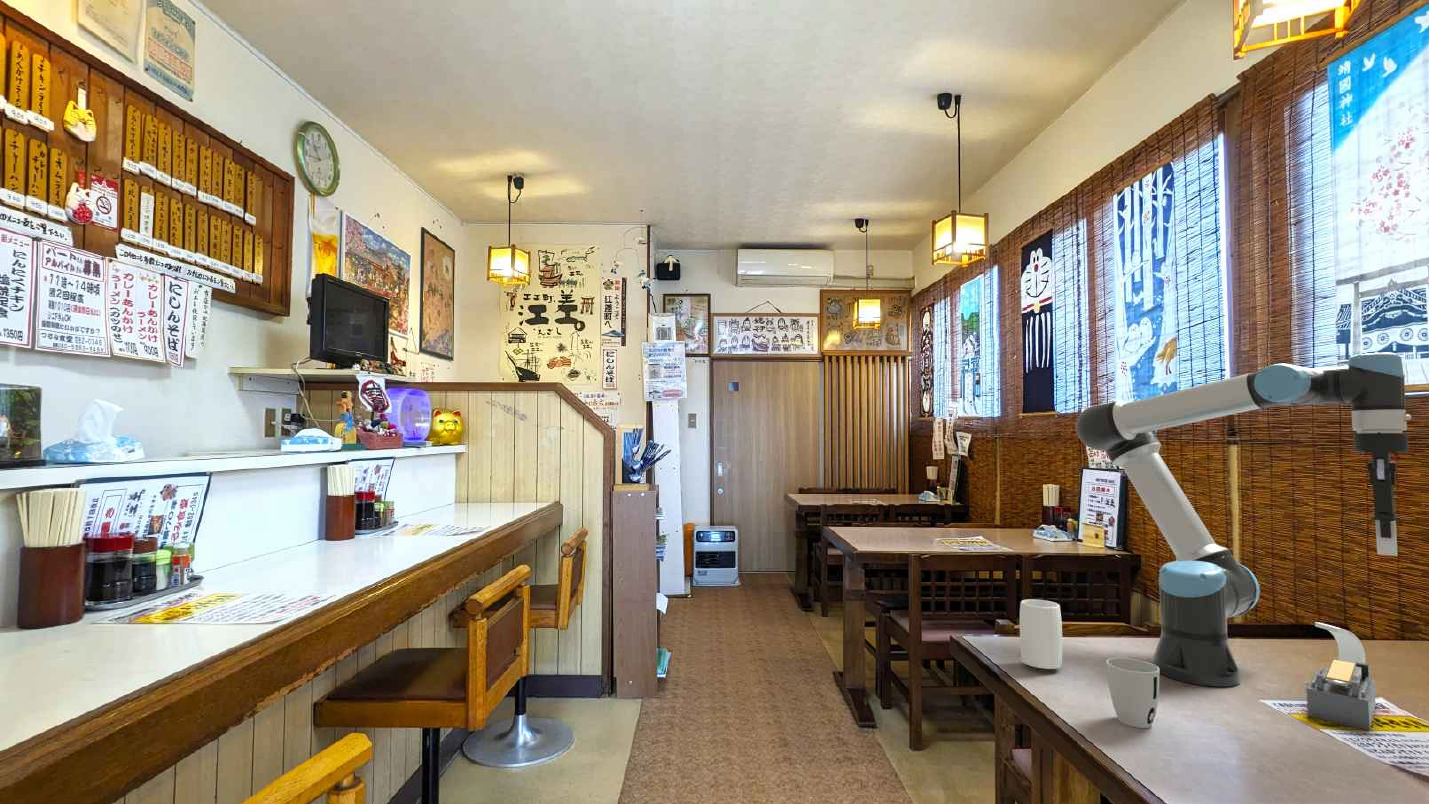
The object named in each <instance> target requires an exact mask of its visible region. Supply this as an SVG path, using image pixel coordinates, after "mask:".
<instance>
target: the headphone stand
mask: <svg viewBox="0 0 1429 804" xmlns="http://www.w3.org/2000/svg"><path fill="white" fill-rule="evenodd" d="M1314 626H1315V627H1316V628H1320V629H1324V630H1326V631H1328V632H1330V634H1331V635H1332V636H1333V637H1334V639H1335V641H1336V643H1337V646H1338V648H1337V649H1338V658H1337V660H1339V661H1344V662H1350V663H1355V671H1354V674H1353V675H1355V676H1359V675H1361V667H1356V662H1357V663H1362V664H1366V652H1365V647H1364V646H1363V644H1362V641H1361V640H1360V639H1359V638H1358V636H1356V635H1355V634H1354V633H1353V632H1351V631H1349V630H1347V629H1345V628H1341V627H1337V626H1333V625H1330V624H1326V623H1322V622H1314Z"/></svg>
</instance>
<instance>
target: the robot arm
mask: <svg viewBox="0 0 1429 804" xmlns="http://www.w3.org/2000/svg"><path fill="white" fill-rule="evenodd" d="M1405 378H1406V375H1405V373H1404V367H1403V360H1402V357H1401V356H1400V355H1399V354H1398V353H1394V352H1373V353H1371V352H1370V353H1363V354H1362V353H1361V354H1355V355H1352V356H1350V357H1349V358H1348V363H1347V365H1343V366H1335V367H1318V368H1311V367H1305V366H1300V365H1295V364H1292V363H1285V362H1284V363H1283V362H1282V363H1274V364H1270V365H1268V366H1264V368H1262V369H1261V370H1257V371H1255V372H1251V373H1250V372H1249V373H1246V374H1242V375H1237V376H1234V377H1229V378H1225V379H1220V380H1216V381H1213V382H1209V383H1205V384H1200V385H1196V386H1192V387H1189V388H1184V389H1179V390H1176V391H1171V392H1168V393H1163V394H1160V395H1155V396H1151V397H1147V398H1143V399H1139V400H1135V401H1131V402H1125V401H1124V400H1116V401H1112V402H1108V403H1103V404H1096V405H1095V404H1094V405H1092V406H1089V407H1086V409H1084V410H1083V411H1082V412H1081V413H1080V415H1078V418H1077V420H1076V423H1075V424H1076V425H1075V431H1076V434H1077V437H1078V438H1079V440H1080V441H1081V442H1082V444H1083V445H1085V446H1087V447H1088V448H1089V449H1092V450H1095V451H1101V452H1103V451H1104V452H1105V453H1106V454H1107V457H1108V458H1109V460H1110V461H1111V464H1113V465H1114V466H1117V467H1119V468H1122V469H1123V471H1124V472H1125V474H1126V476H1127V478H1128V479H1129V480H1130V482H1131V484H1132V485H1133V487H1134V490H1135V491H1136V493H1137V494H1138V495H1139V497H1140V499H1141V500H1142V502H1143V504H1144V505H1145V508H1146V510H1148V512H1149V514H1150V516H1151V518H1152V519H1153V520H1154V522H1155V524H1156V525H1157V527H1158V529H1159V531H1160V533H1161V534H1162V535H1163V537H1164V539H1165V541H1166V542H1167V544H1168V546H1169V547H1170V549H1171V550H1172V553H1173V554H1174V555H1175V558H1176V559H1175V561H1170V562H1167V563H1164V564H1163V565H1161V567H1160V569H1159V576H1158V577H1159V578H1158V581H1157V582H1158V586H1159V607H1160V626H1161V629H1160V630H1161V633H1160V636H1159V640H1158V643H1157V644H1156V648H1155V651H1154V654H1153V656H1152V657H1153V658H1152V664H1154V665H1156V666H1157V667H1159V669H1160V671H1159V675H1162V676H1164V677H1165V676H1166V677H1168V678H1170V679H1173V680H1177V681H1181V682H1185V683H1189V684H1195V685H1199V686H1200V685H1201V686H1209V687H1234V686H1237V685H1239V684H1240V683H1241V675H1240V674H1241V672H1240V669H1239V666H1238V664H1237V661H1236V659H1235V657H1234V654H1233V651H1232V649H1231V648H1230V645H1229V639H1228V621H1227V620H1228V619H1229V618H1233V617H1234V618H1235V617H1238V616H1241V615H1244V614H1245V613H1247V612H1249V611H1250V610H1251V609H1252V608H1254V607H1255V606H1256V604H1257V603H1258V600H1259V598H1260V593H1261V590H1260V584H1259V581H1258V580H1257V578H1256V576H1255V574H1254V573H1253V572H1252V571H1251V570H1250V569H1249V568H1248V567H1246V566H1245V565H1243V564H1241V563H1238V562H1237V561H1236V559H1235V557H1234V556H1233V555H1232V553H1231V551H1230V550H1229V549H1228V547H1224V546H1221V545H1218V544H1217V543H1216V542H1215V540H1214V539H1213V537H1212V535H1211V534H1210V532H1209V530H1208V529H1207V528H1206V526H1205V524H1204V523H1203V521H1202V519H1201V518H1200V517H1199V515H1198V513H1197V512H1196V510H1195V508H1194V507H1193V505H1192V504H1191V502H1190V501H1189V499H1188V497H1187V496H1186V494H1185V493H1184V491H1183V489H1182V488H1181V487H1180V485H1179V483H1178V482H1177V480H1176V478H1175V476H1174V475H1173V474H1172V472H1171V471H1170V469H1169V468H1168V466H1167V464H1166V463H1165V462H1164V460H1163V457H1161V455H1160V453H1159V452H1160V449H1161V447H1162V444H1161V442H1160V440H1159V439H1158V437H1157V432H1158V430H1162V429H1163V430H1165V429H1169V428H1173V427H1178V426H1182V425H1186V424H1187V425H1188V424H1191V423H1197V422H1201V421H1207V420H1212V419H1216V418H1220V417H1226V416H1229V415H1235V414H1239V413H1244V412H1251V411H1254V410H1259V409H1264V408H1270V407H1271V408H1272V407H1276V406H1293V407H1294V406H1295V407H1301V406H1311V405H1316V406H1317V405H1328V404H1331V405H1332V404H1350V405H1351V412H1350V413H1351V425H1352V431H1354V432H1356V433H1354V435H1353V437H1352V438H1353V451H1355V452H1356V453H1371V454H1372V460H1371V461H1367V462H1366V467H1367V471H1368V472H1369V483H1370V484H1371V485H1372V491H1373V493H1372V494H1373V504H1374V513H1373V516H1370V520H1371V521H1375V522H1374V525H1375V539H1376V553H1377V555H1383V556H1392V557H1393V556H1394V557H1398V541H1397V539H1398V538H1397V524H1396V523H1397V522H1396V521H1401V517H1400V516H1396V514H1397V513H1396V511H1395V500H1394V499H1395V498H1394V495H1395V494H1394V485H1396V483H1397V479H1396V471H1397V470H1398V466H1397V462H1396V461H1395V462H1394V461H1393V462H1391V461H1392V460H1391V454H1392V453H1393V454H1394V453H1395V454H1396V453H1398V454H1400V453H1401V454H1403V453H1405V454H1406V453H1408V452H1409V450H1410V449H1409V434H1407V433H1403V431H1406V430H1408V425H1407V423H1408V422H1407V421H1408V420H1412V416H1411V414H1406V412H1407V410H1406V409H1407V406H1406V389H1405V387H1406V386H1405V385H1406V384H1405V383H1406V382H1405Z"/></svg>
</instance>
